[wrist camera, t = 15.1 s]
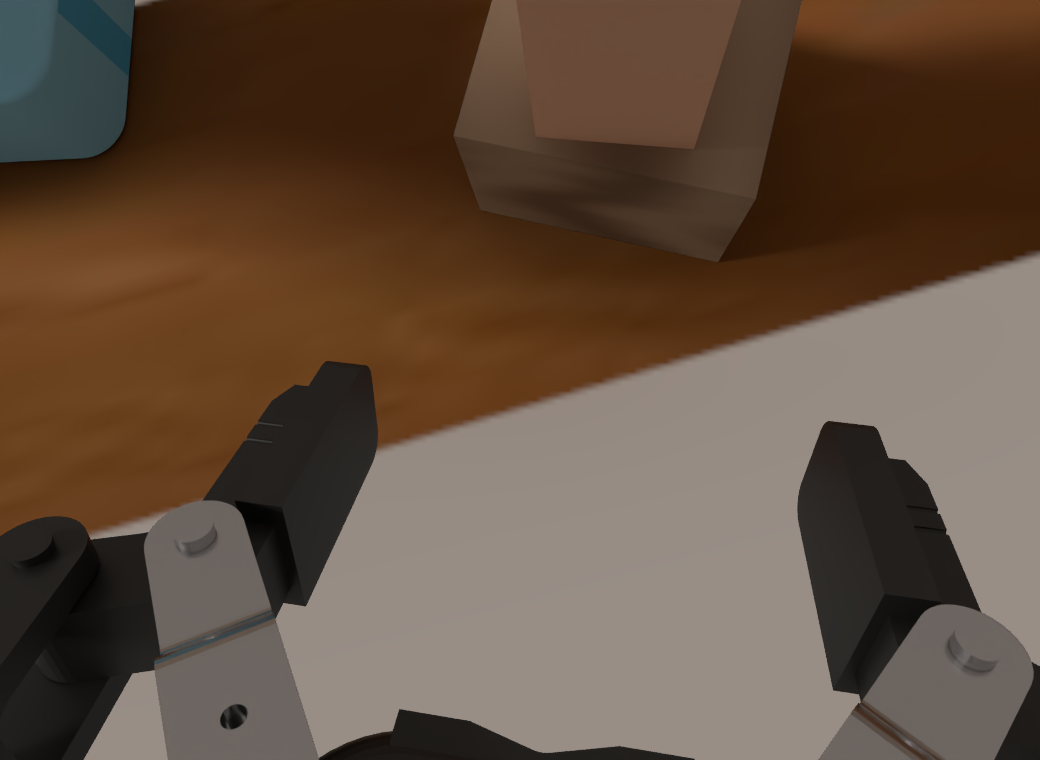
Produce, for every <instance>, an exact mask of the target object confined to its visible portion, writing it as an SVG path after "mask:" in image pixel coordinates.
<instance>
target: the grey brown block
mask: <svg viewBox="0 0 1040 760" xmlns="http://www.w3.org/2000/svg"><path fill="white" fill-rule="evenodd" d="M801 1H802V0H741V3H740V6H739V9H738V12H737V15H736V18H735V22H734V25H733V28H732V31H731V34H730V37H729V40H728V44H727V47H726V50H725V53H724V56H723V59H722V62H721V66H720V69H719V72H718V75H717V78H716V81H715V85H714V88H713V91H712V94H711V97H710V100H709V103H708V107H707V110H706V113H705V116H704V119H703V122H702V125H701V129H700V132H699V135H698V138H697V141H696V144H695V147H694V149H683V148H670V147H657V146H644V145H631V144H618V143H605V142H592V141H579V140H567V139H554V138H542V137H536V135H535V128H534V121H533V114H532V107H531V100H530V93H529V86H528V79H527V72H526V65H525V58H524V51H523V44H522V37H521V30H520V23H519V16H518V9H517V2H516V0H492V3H491V6H490V10H489V13H488V17H487V20H486V24H485V27H484V30H483V34H482V37H481V41H480V44H479V48H478V51H477V55H476V58H475V62H474V65H473V69H472V72H471V76H470V79H469V82H468V86H467V89H466V93H465V96H464V100H463V103H462V107H461V110H460V114H459V117H458V121H457V124H456V128H455V131H454V134H453V137H454V139H455V142H456V145H457V148H458V150H459V153H460V156H461V159H462V161H463V164H464V167H465V170H466V172H467V175H468V178H469V181H470V183H471V186H472V189H473V191H474V194H475V197H476V200H477V202H478V205H479V208H480V210H482V211H486V212H491V213H495V214H500V215H504V216H509V217H513V218H518V219H523V220H527V221H532V222H536V223H541V224H545V225H550V226H554V227H559V228H563V229H568V230H573V231H577V232H582V233H586V234H591V235H595V236H600V237H604V238H609V239H613V240H618V241H623V242H627V243H632V244H636V245H641V246H645V247H650V248H654V249H659V250H663V251H668V252H672V253H677V254H682V255H686V256H691V257H695V258H700V259H704V260H709V261H713V262H718V261H719V260H720V258H721V256H722V255H723V253H724V251H725V250H726V248H727V246H728V245H729V243H730V241H731V240H732V238H733V236H734V235H735V233H736V231H737V230H738V228H739V226H740V225H741V223H742V221H743V220H744V218H745V216H746V215H747V213H748V211H749V210H750V208H751V206H752V205H753V203H754V201H755V200H756V197H757V192H758V188H759V184H760V179H761V175H762V171H763V166H764V162H765V158H766V153H767V149H768V144H769V140H770V136H771V131H772V127H773V123H774V118H775V114H776V110H777V105H778V101H779V97H780V92H781V88H782V83H783V79H784V75H785V70H786V66H787V62H788V57H789V53H790V49H791V44H792V40H793V36H794V31H795V27H796V22H797V18H798V14H799V9H800V5H801Z"/></svg>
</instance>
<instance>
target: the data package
mask: <svg viewBox="0 0 1040 760" xmlns="http://www.w3.org/2000/svg"><path fill="white" fill-rule="evenodd" d="M134 6H135V0H0V162H19V161H39V160H58V159H78V158H89V157H93V156H96V155H99V154H101V153H102V152H104V151H106V150H107V149H108V148H110V147H111V146H112V145H113V144H114V143H115V142H116V140H117V139H118V138H119V136H120V134H121V133H122V130H123V128H124V124H125V119H126V107H127V95H128V82H129V69H130V57H131V44H132V31H133V18H134Z"/></svg>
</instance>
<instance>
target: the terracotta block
mask: <svg viewBox="0 0 1040 760" xmlns="http://www.w3.org/2000/svg"><path fill="white" fill-rule="evenodd" d="M516 2H517V9H518V16H519V23H520V30H521V37H522V44H523V51H524V58H525V65H526V72H527V79H528V86H529V93H530V100H531V107H532V114H533V121H534V128H535V135H536V137H542V138H554V139H567V140H579V141H592V142H605V143H618V144H631V145H644V146H657V147H670V148H683V149H694V147H695V144H696V141H697V138H698V135H699V132H700V129H701V125H702V122H703V119H704V116H705V113H706V110H707V107H708V103H709V100H710V97H711V94H712V91H713V88H714V85H715V81H716V78H717V75H718V72H719V69H720V66H721V62H722V59H723V56H724V53H725V50H726V47H727V44H728V40H729V37H730V34H731V31H732V28H733V25H734V22H735V18H736V15H737V12H738V9H739V6H740V3H741V0H516Z"/></svg>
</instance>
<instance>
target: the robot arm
mask: <svg viewBox="0 0 1040 760" xmlns="http://www.w3.org/2000/svg"><path fill="white" fill-rule="evenodd" d="M377 441H378V427H377V419H376V410H375V402H374V393H373V384H372V376H371V371H370V369H369V367H368V366H366V365H358V364H349V363H341V362H332V361H326V362H325V363H324V364H323V365H322V366H321V368H320V369H319V371H318V372H317V374H316V375H315V377H314V379H313V380H312V382H311V383H310V385H309V386H301V385H294V386H293V387H291V388H290V389H288V390H287V391H285V392H284V393H283V394H281V395H280V396H278V397H277V398H275V399H274V400H273V401H272V402H271V403H270V404H269V406H268V407H267V409H266V410H265V412H264V413H263V415H262V416H261V417H260V419H259V420H258V425H255V426H254V427H253V429H252V430H251V432H250V433H249V435H248V436H247V441H244V442H243V443H242V445H241V446H240V448H239V449H238V450H237V452H236V453H235V455H234V456H233V458H232V459H231V460H230V462H229V463H228V465H227V466H226V468H225V469H224V470H223V472H222V473H221V475H220V476H219V478H218V479H217V481H216V482H215V483H214V485H213V486H212V488H211V489H210V491H209V492H208V493H207V495H206V496H205V498H204V499H203V500H202V501H199V502H194V503H190V504H186V505H184V506H181V507H179V508H177V509H175V510H173V511H171V512H169V513H168V514H166V515H165V516H163V517H162V518H161V519H160V520H159V521H157V523H156V524H155V525H154V526H153V527H152V529H151V530H150V531H149V532H147V533H141V534H134V535H126V536H118V537H109V538H101V539H93V540H91V539H90V537H89V535H88V533H87V531H86V529H85V527H84V526H83V525H82V524H81V523H80V522H78V521H77V520H74V519H72V518H68V517H58V516H53V517H45V518H40V519H35V520H32V521H29V522H26V523H24V524H21V525H19V526H17V527H15V528H13V529H11V530H9V531H8V532H6V533H5V534H3V535H2V536H0V760H84V758H85V756H86V754H87V753H88V751H89V749H90V747H91V745H92V744H93V742H94V740H95V738H96V737H97V735H98V733H99V731H100V730H101V728H102V726H103V724H104V723H105V721H106V719H107V717H108V715H109V714H110V712H111V710H112V708H113V706H114V705H115V703H116V701H117V700H118V698H119V696H120V694H121V693H122V691H123V689H124V687H125V685H126V684H127V682H128V680H129V679H130V677H131V675H132V673H139V672H145V671H152V670H155V676H156V683H157V690H158V696H159V703H160V709H161V716H162V722H163V729H164V736H165V743H166V749H167V756H168V760H695V759H692V758H686V757H680V756H674V755H668V754H662V753H657V752H651V751H645V750H639V749H632V748H626V747H621V746H618V747H608V748H597V749H586V750H576V751H565V752H555V753H541V752H537V751H534V750H532V749H530V748H527V747H525V746H523V745H520V744H519V743H516V742H514V741H512V740H510V739H508V738H505V737H503V736H501V735H499V734H497V733H494V732H492V731H490V730H488V729H486V728H483V727H481V726H479V725H477V724H475V723H472V722H471V721H466V720H460V719H454V718H448V717H442V716H437V715H431V714H425V713H419V712H413V711H407V710H399V712H398V716H397V719H396V722H395V725H394V729H393V731H391V732H382V733H378V734H373V735H369V736H365V737H362V738H359V739H356V740H354V741H351V742H348V743H346V744H344V745H342V746H340V747H338V748H336V749H333V750H331V751H329V752H328V753H326V754H325V755H323V756H322V757H320V758H319V757H318V754H317V751H316V748H315V745H314V741H313V738H312V735H311V732H310V729H309V725H308V722H307V719H306V716H305V713H304V709H303V706H302V703H301V700H300V697H299V693H298V690H297V687H296V684H295V681H294V678H293V674H292V671H291V668H290V665H289V661H288V658H287V655H286V652H285V649H284V645H283V642H282V639H281V636H280V633H279V630H278V626H277V623H276V620H275V619H276V617H277V615H278V612H279V611H280V609H281V607H282V605H283V603H288V604H294V605H301V606H306V605H307V603H308V600H309V598H310V596H311V594H312V592H313V590H314V588H315V586H316V584H317V581H318V579H319V577H320V575H321V573H322V571H323V568H324V566H325V564H326V562H327V560H328V558H329V556H330V553H331V551H332V549H333V547H334V545H335V543H336V540H337V538H338V536H339V534H340V532H341V530H342V527H343V525H344V523H345V521H346V519H347V517H348V515H349V512H350V510H351V508H352V506H353V504H354V502H355V499H356V497H357V495H358V493H359V491H360V489H361V487H362V484H363V482H364V480H365V478H366V476H367V474H368V471H369V469H370V467H371V465H372V463H373V460H374V457H375V453H376V448H377ZM937 511H938V508H937V506H936V503H935V501H934V498H933V496H932V494H931V491H930V489H929V487H928V484H927V483H926V482H925V481H924V480H923V479H922V478H921V477H920V476H919V475H918V473H916V471H915V470H914V469H913V468H912V467H911V466H910V465H909V464H908V463H907V462H906V461H905V460H897V459H890V458H888V456H887V453H886V450H885V448H884V445H883V442H882V440H881V437H880V434H879V432H878V430H877V429H876V428H875V427H874V426H867V425H858V424H849V423H841V422H833V421H828V422H826V423H825V424H824V425H823V427H822V429H821V431H820V434H819V437H818V440H817V442H816V445H815V448H814V450H813V453H812V456H811V459H810V461H809V464H808V467H807V470H806V472H805V475H804V478H803V480H802V483H801V486H800V490H799V496H798V521H799V527H800V532H801V536H802V541H803V546H804V551H805V556H806V561H807V565H808V570H809V575H810V580H811V585H812V590H813V595H814V600H815V604H816V609H817V614H818V619H819V624H820V629H821V634H822V638H823V643H824V648H825V653H826V658H827V663H828V668H829V672H830V677H831V682H832V687H833V690H834V691H841V692H848V693H854V694H859V696H860V700H861V703H860V704H859V703H858V705H857V706H856V707H855V709H853V711H852V712H851V714H850V715H849V717H848V718H847V719H846V721H845V722H844V724H843V725H842V726H841V728H840V730H839V731H838V732H837V734H836V735H835V737H834V738H833V739H832V741H831V742H830V744H829V745H828V747H827V748H826V750H825V751H824V753H823V754H822V755H821V757H820V758H819V760H1040V666H1038V665H1036V664H1034V663H1033V662H1031V660H1030V657H1029V655H1028V653H1027V652H1026V650H1025V648H1024V647H1023V645H1022V644H1021V643H1020V642H1019V640H1018V639H1017V638H1016V637H1015V636H1014V635H1013V634H1012V633H1011V632H1010V631H1009V630H1008V629H1006V628H1005V627H1004V626H1003V625H1002V624H1000V623H999V622H997V621H995V620H994V619H993V618H991V617H989V616H987V615H985V614H983V613H982V612H981V610H980V608H979V606H978V603H977V601H976V598H975V596H974V594H973V591H972V589H971V587H970V584H969V582H968V579H967V578H966V575H965V572H964V570H963V568H962V565H961V563H960V560H959V558H958V556H957V553H956V551H955V549H954V546H953V544H952V541H951V539H950V537H949V535H946V527H945V525H944V522H943V520H942V518H941V515H940V514H938V513H937Z"/></svg>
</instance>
